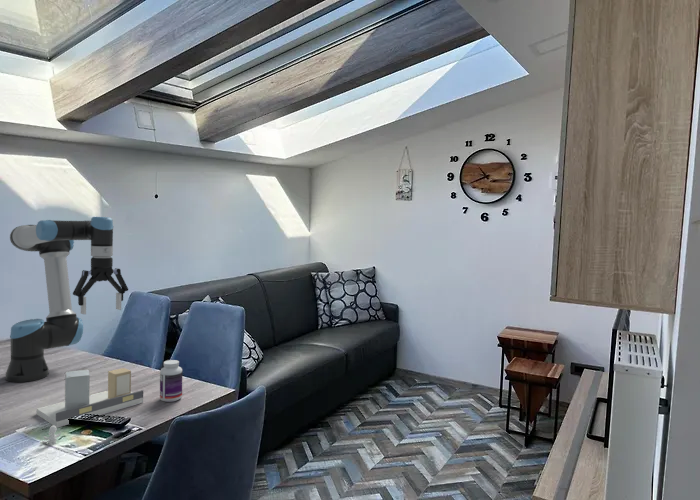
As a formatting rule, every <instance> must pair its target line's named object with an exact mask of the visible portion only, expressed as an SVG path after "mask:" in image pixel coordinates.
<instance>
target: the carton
mask: <svg viewBox="0 0 700 500" xmlns="http://www.w3.org/2000/svg"><path fill="white" fill-rule="evenodd" d="M107 391H108V398H109V399H111V398H114V397H118V396H122V395H126V394H129V393H131V392H132V371H131V370H130V369H128V368H125V367H122V368H116V369H113V370H109V371H107Z"/></svg>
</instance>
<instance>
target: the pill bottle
mask: <svg viewBox="0 0 700 500" xmlns="http://www.w3.org/2000/svg"><path fill="white" fill-rule="evenodd" d="M179 365H180V361H179V360H177V359H167V360H165V361H163V367H162V368H161V369H160V371H159V398H160V400H161V401H163V402H167V403H169V402H177V401H178V400H180V399H181V398H182V397H183V367H181V366H179Z"/></svg>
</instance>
